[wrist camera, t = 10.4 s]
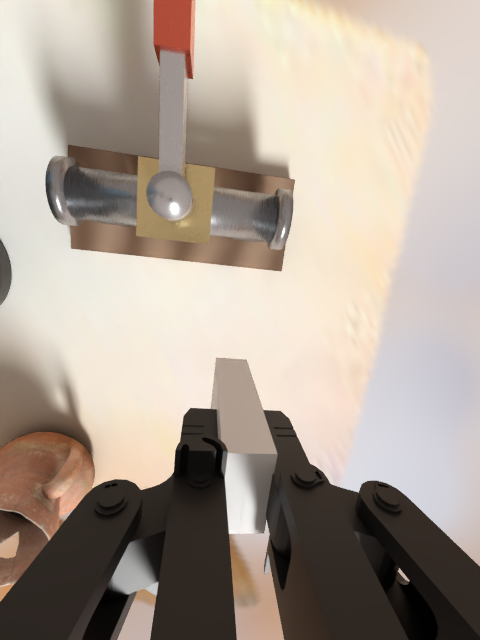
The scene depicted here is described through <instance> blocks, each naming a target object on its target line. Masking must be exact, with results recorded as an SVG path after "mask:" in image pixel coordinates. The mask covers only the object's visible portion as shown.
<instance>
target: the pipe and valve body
mask: <svg viewBox="0 0 480 640" xmlns="http://www.w3.org/2000/svg"><path fill="white" fill-rule="evenodd" d="M157 173H159V159H154V158H147V157H140V156H138V175H132V174H125V173H119V172H112V171H105V170H98V169H91V168H84V167H81V166H80V164H79V163H78V162H77V160H75V159H74V158H69V157H63V156H55V157H53V158H52V159H51V160H50V162H49V164H48V167H47V171H46V194H47V199H48V203H49V206H50V209H51V211H52V213H53V215H54V217H55V218H56V220H57V221H58V222H59V223H61V224H64V225H72V226H79V225H81V224H82V223H83V221H84V220H88V221H93V222H97V223H102V224H108V225H116V226H124V227H132V226H136V236H140V237H148V238H157V239H165V240H174V241H182V242H191V243H199V244H208V245H209V237H210V235H212V236H220V237H228V238H232V240H240V241H248V242H260V241H261V242H267V246H268V248H269V249H274V250H281V249H282V248H283V247H284V245H285V243H286V241H287V238H288V234H289V231H290V226H291V221H292V214H293V195H292V191H291V190H287V189H280V188H278V189H277V190H276V192H275V194H274V195H271V194H264V193H257V192H251V191H244V190H237V189H230V188H223V187H216V186H214V178H215V168H213V167H206V166H199V165H193V164H186V163H185V179H186V181H187V182H188V184H189V186H190V188H191V191H192V194H193V198H194V208H193V211H192V213H191V215H190V216H189V217H188V218H187V219H185V220H184V221H181V222H171V221H168V220H166V219H165V218H163V217H161V216H159V215H158V214H156V213H155V212H154V211H153V210H152V208H151V207H150V205H149V203H148V200H147V196H146V189H147V185H148V183H149V181H150V179H151V178H152V177H153V176H154V175H155V174H157Z"/></svg>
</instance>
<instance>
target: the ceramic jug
mask: <svg viewBox="0 0 480 640" xmlns="http://www.w3.org/2000/svg"><path fill="white" fill-rule="evenodd" d="M94 477H95V468H94V463H93V460H92V458H91V456H90V454H89V452H88V451H87V450H86V448H85V447H84V446H83V445H82V444H81V443H79V442H78V441H77V440H75V439H73V438H71V437H69V436H66V435H64V434H60V433H56V432H34V433H30V434H26V435H23V436H21V437H18V438H16V439H14V440H12V441H11V442H9V443H8V444H6V445H5V446H4V447H2V448H1V449H0V544H2V543H3V542H5V541H6V540H8V539H10V538H12V537H14V536H15V535H16V534H19V545H18V549H17V552H16V556H15V557H13V558H9V559H5V558H0V586H6V585H9V584H15V583H16V582H17V580H18V579H19V578H20V577H21V575H22V574H23V573H24V572H25V570H26V569H27V568H28V567H29V565H30V564H31V563H32V562H33V560H34V559H35V558H36V557H37V555H38V554H39V553H40V552H41V550H42V549H43V548H44V547H45V545H46V544H47V543H48V541H49V540H50V539H51V538H52V536H53V535H54V534H55V533H56V531H57V530H58V526H59V516H60V515H63V514H65V513H67V512H69V511H71V510H73V509H74V508H75V507H76V506H77V505H78V504H79V502H80V501H81V500H82V499H83V497H84V496H85V495H86V494H87V493H88V492H90V490H91V488H92V485H93V482H94Z"/></svg>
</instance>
